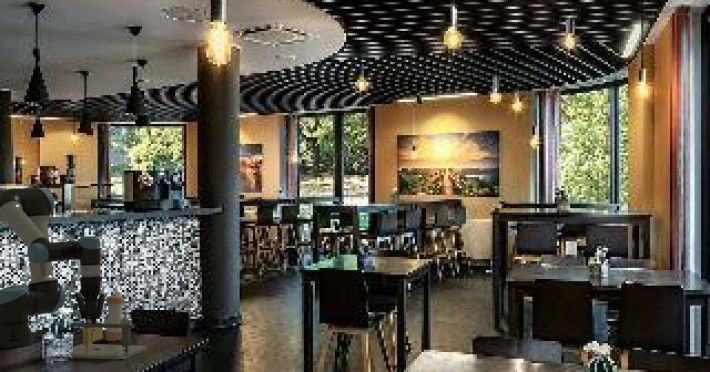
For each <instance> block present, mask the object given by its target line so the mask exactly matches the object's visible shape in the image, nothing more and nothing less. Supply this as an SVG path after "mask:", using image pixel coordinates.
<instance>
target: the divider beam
mask: <svg viewBox="0 0 710 372" xmlns="http://www.w3.org/2000/svg"><path fill="white" fill-rule="evenodd" d="M69 327H70V328H72V327H74V328H84V327H95V328H103V329H104V328H106V329H107V328H122V340H121V345H122V347H125V349H128V347H129V346H131V345H132V329H134V328H136V323H135V324H134V323H133V318H129V317H126V318H124V317H123V319H121V324H108V323H107V322H106V323H104V322H102V323H99V322H96V323H86V322H70V323H69Z"/></svg>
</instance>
